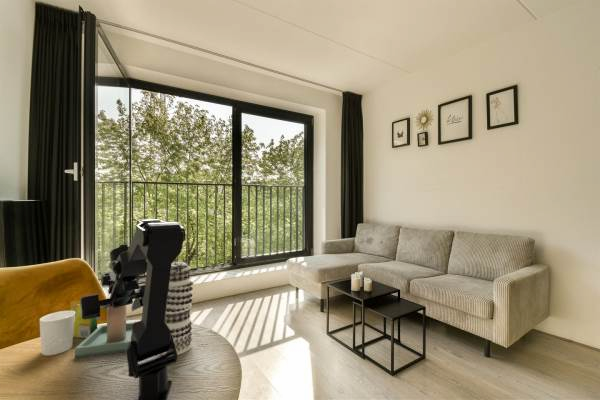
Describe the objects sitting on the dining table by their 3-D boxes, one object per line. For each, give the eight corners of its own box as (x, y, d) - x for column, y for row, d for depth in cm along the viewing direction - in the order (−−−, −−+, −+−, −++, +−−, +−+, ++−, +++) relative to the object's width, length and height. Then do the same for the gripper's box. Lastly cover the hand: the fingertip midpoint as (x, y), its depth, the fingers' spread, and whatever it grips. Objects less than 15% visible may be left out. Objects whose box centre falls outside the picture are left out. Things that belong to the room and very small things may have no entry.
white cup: (53, 358, 75) (54, 322, 76) (31, 355, 77) (32, 320, 77) (81, 344, 83) (82, 311, 83) (61, 341, 85) (61, 309, 85)
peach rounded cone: (116, 343, 82) (116, 301, 82) (102, 342, 83) (102, 300, 83) (130, 335, 87) (130, 296, 87) (116, 334, 87) (116, 295, 88)
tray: (134, 350, 79) (135, 341, 79) (74, 357, 75) (75, 348, 76) (150, 328, 94) (150, 320, 94) (100, 333, 90) (100, 325, 90)
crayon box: (97, 334, 89) (98, 298, 90) (89, 338, 86) (89, 302, 87) (78, 332, 91) (78, 297, 91) (69, 337, 88) (70, 300, 88)
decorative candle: (178, 358, 75) (178, 267, 75) (151, 354, 77) (151, 266, 78) (199, 342, 84) (199, 261, 84) (174, 338, 86) (174, 259, 86)
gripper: (153, 258, 89) (142, 285, 96) (81, 268, 76) (75, 299, 83) (162, 287, 83) (150, 314, 91) (85, 304, 70) (78, 333, 77)
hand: (115, 313), depth 86 cm, fingers open, 9 cm apart
